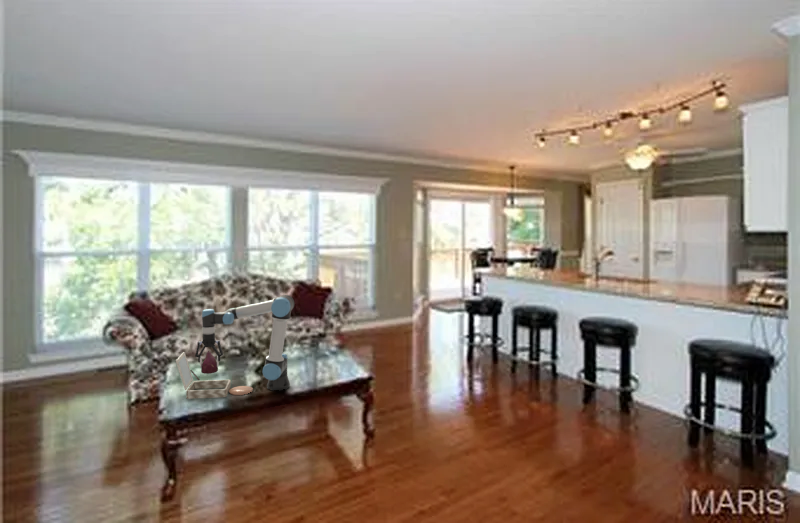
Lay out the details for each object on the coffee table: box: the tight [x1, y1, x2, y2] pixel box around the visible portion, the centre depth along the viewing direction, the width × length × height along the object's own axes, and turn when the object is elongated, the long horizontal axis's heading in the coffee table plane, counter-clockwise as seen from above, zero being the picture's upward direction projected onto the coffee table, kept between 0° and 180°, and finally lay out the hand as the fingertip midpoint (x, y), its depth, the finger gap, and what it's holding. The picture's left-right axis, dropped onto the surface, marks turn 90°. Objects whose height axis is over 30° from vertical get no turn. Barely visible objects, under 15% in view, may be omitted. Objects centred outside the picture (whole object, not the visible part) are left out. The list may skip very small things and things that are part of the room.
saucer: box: [228, 385, 254, 396], centre depth 331 cm, size 15×15×1 cm
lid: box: [175, 351, 194, 391], centre depth 323 cm, size 20×20×1 cm
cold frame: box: [185, 369, 232, 400], centre depth 326 cm, size 26×20×13 cm
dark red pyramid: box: [200, 350, 219, 375], centre depth 326 cm, size 10×10×15 cm
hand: (209, 366), depth 325 cm, fingers closed on dark red pyramid, 10 cm apart
